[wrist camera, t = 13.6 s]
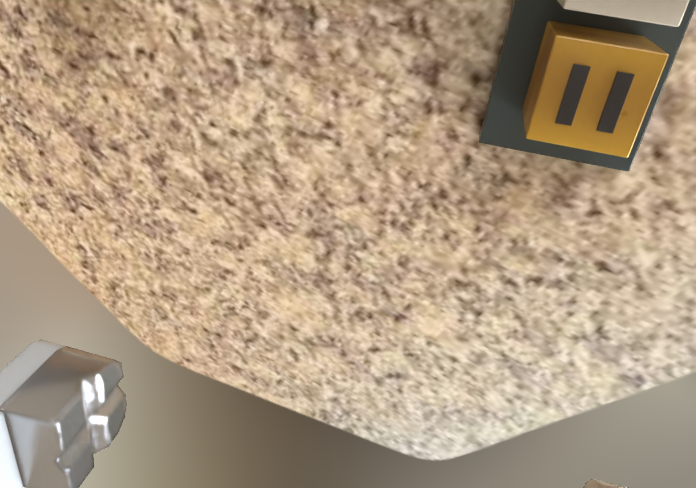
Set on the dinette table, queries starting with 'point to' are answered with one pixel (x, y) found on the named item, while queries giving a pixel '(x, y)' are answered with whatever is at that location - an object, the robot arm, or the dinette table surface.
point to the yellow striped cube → (591, 88)
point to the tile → (633, 9)
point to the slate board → (519, 61)
